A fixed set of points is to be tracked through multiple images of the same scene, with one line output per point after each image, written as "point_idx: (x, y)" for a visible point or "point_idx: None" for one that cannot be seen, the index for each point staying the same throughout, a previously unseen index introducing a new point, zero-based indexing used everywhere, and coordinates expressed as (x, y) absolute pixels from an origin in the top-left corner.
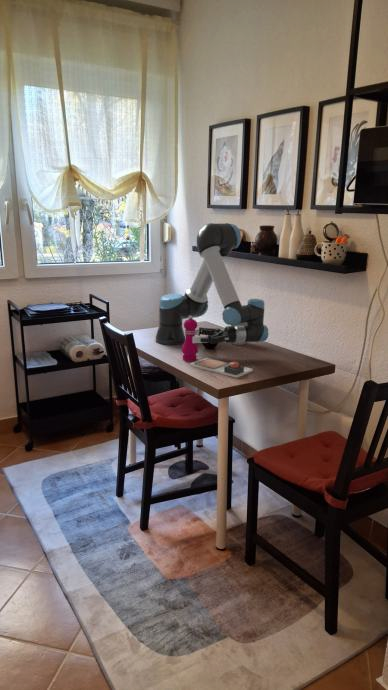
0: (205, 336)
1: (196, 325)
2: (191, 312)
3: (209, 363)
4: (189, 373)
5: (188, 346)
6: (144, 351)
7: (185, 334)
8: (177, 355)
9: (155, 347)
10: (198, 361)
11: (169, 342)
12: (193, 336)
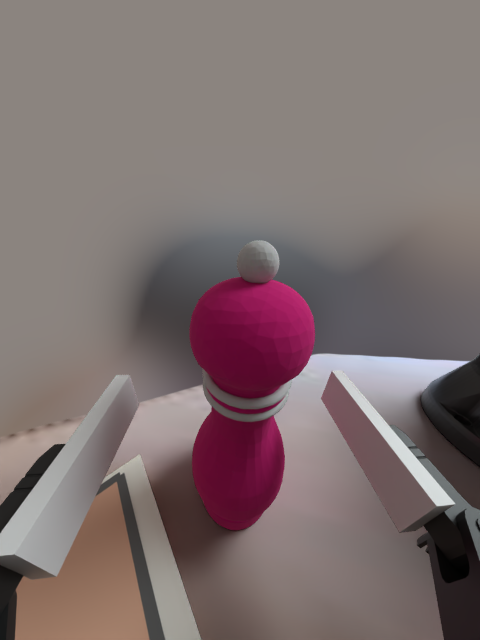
0: (27, 507)
1: (205, 355)
2: None
3: (35, 632)
4: (51, 434)
5: (205, 419)
6: (312, 355)
7: (323, 395)
8: (293, 431)
9: (365, 380)
10: (144, 517)
11: (438, 418)
12: (216, 413)
